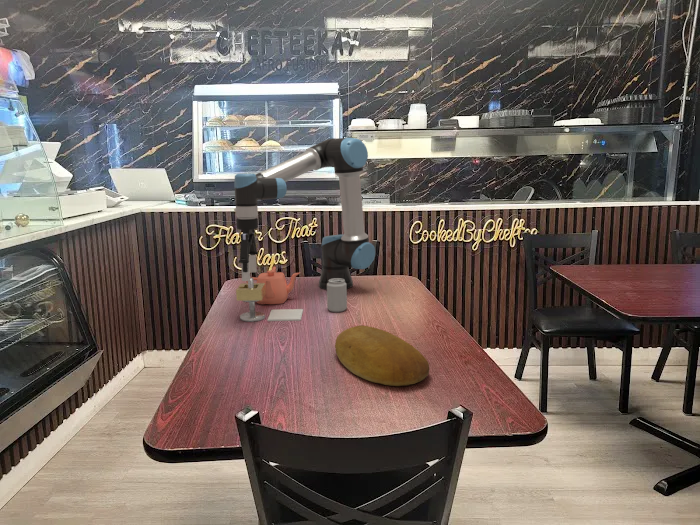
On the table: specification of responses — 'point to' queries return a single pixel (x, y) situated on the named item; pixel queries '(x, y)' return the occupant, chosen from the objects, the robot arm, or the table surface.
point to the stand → (252, 309)
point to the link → (250, 292)
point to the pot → (275, 286)
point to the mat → (285, 315)
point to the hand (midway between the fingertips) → (249, 276)
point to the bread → (380, 356)
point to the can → (336, 295)
